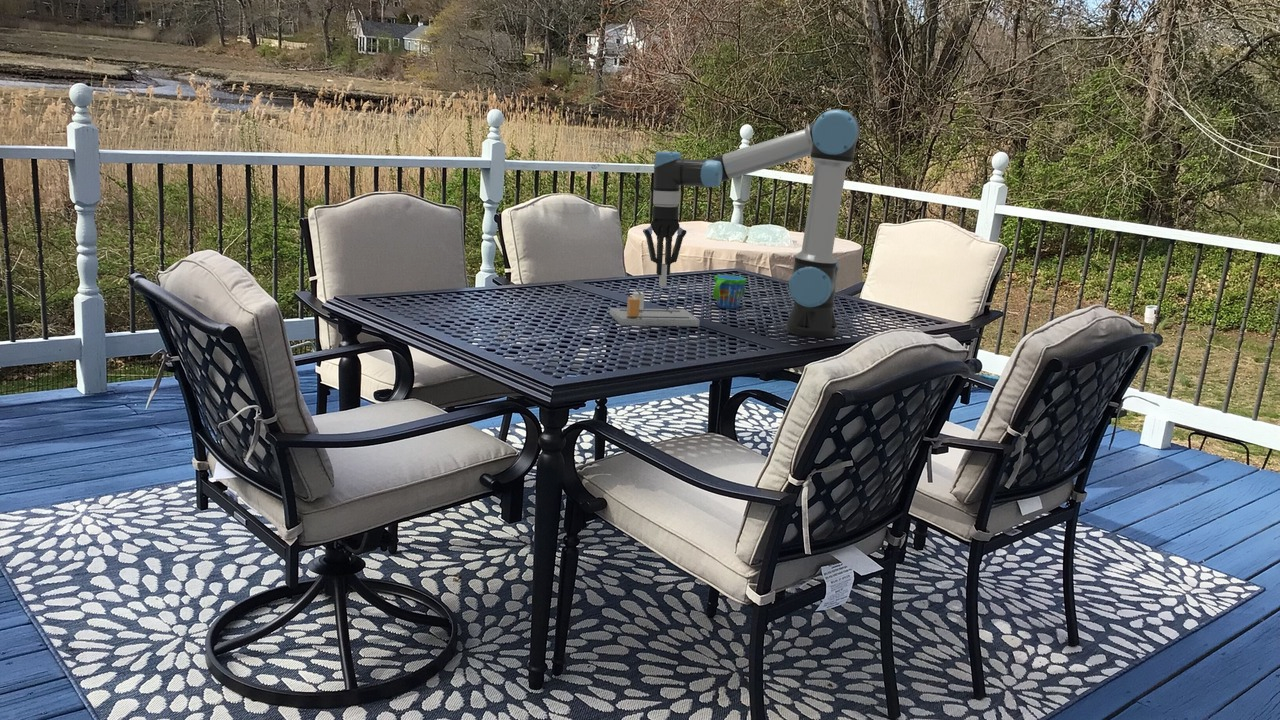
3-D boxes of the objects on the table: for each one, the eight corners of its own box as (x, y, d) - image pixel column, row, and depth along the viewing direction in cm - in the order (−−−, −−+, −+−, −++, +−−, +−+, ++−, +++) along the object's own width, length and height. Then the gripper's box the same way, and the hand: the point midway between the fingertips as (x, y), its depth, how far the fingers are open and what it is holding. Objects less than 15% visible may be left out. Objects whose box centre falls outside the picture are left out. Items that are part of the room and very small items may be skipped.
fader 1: (643, 310, 299) (644, 292, 298) (634, 309, 299) (635, 292, 297) (640, 307, 303) (641, 290, 302) (631, 307, 302) (632, 290, 301)
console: (699, 326, 293) (699, 319, 292) (621, 325, 287) (621, 318, 286) (684, 315, 308) (684, 308, 308) (609, 314, 303) (609, 307, 302)
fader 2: (638, 316, 289) (639, 298, 288) (629, 316, 288) (630, 298, 287) (635, 314, 292) (636, 296, 291) (626, 313, 292) (627, 296, 291)
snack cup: (731, 302, 336) (733, 273, 334) (755, 308, 329) (757, 278, 327) (700, 306, 326) (702, 276, 323) (724, 312, 319) (726, 281, 316)
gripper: (683, 204, 290) (680, 284, 295) (640, 204, 287) (638, 284, 292) (691, 207, 283) (687, 287, 288) (647, 206, 280) (644, 288, 285)
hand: (662, 285), depth 290 cm, fingers closed
